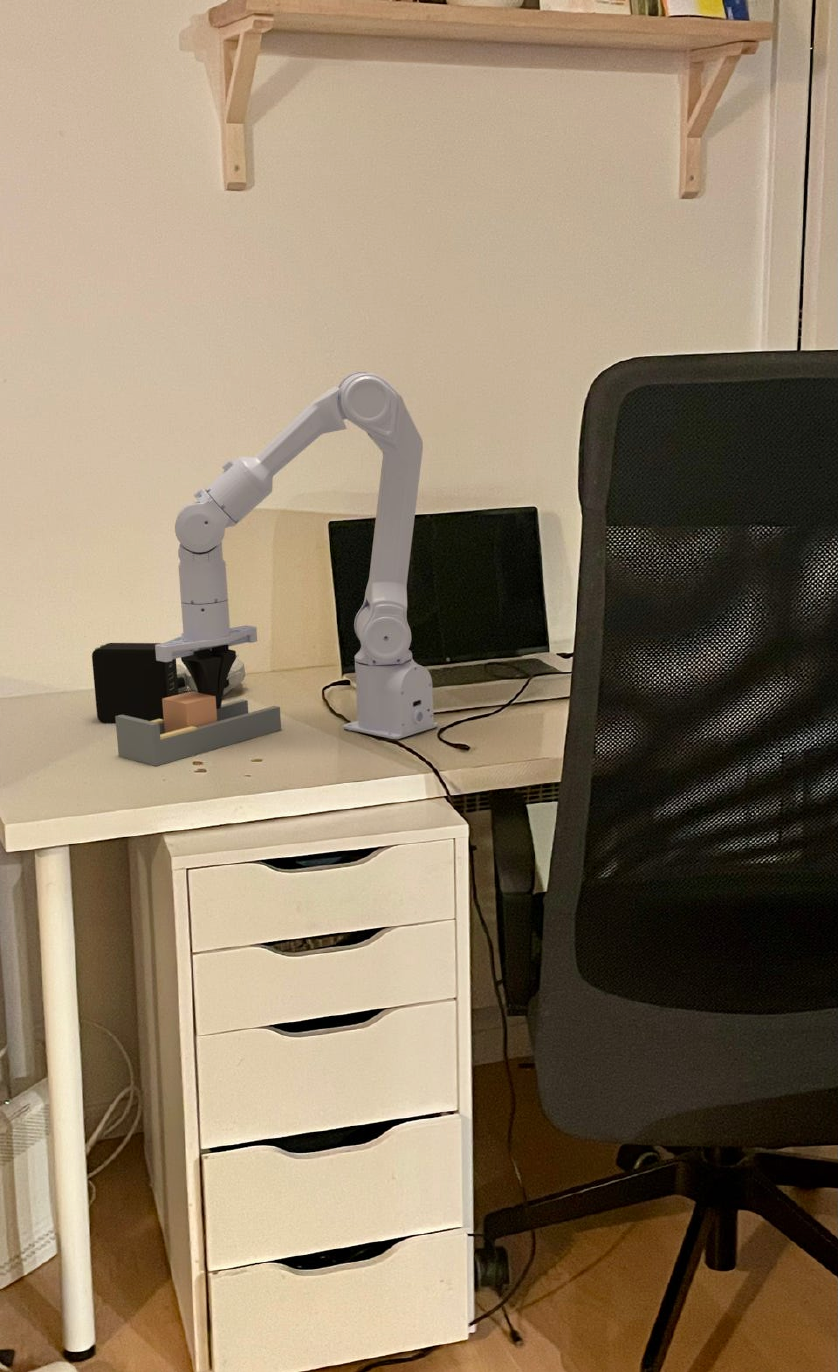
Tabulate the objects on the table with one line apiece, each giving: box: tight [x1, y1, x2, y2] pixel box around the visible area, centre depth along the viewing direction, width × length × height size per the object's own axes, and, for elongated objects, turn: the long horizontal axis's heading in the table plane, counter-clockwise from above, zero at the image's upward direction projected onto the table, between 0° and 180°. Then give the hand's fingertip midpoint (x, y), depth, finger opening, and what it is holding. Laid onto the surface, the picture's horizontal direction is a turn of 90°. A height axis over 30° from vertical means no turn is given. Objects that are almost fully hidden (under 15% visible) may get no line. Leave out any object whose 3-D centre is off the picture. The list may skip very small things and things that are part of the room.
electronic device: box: [91, 642, 180, 725], centre depth 199 cm, size 4×10×10 cm, turn 78°
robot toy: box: [176, 653, 246, 696], centre depth 214 cm, size 12×4×15 cm
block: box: [162, 690, 217, 733], centre depth 186 cm, size 5×5×5 cm
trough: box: [115, 699, 282, 767], centre depth 187 cm, size 20×7×5 cm, turn 138°
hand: (211, 708), depth 188 cm, fingers closed
